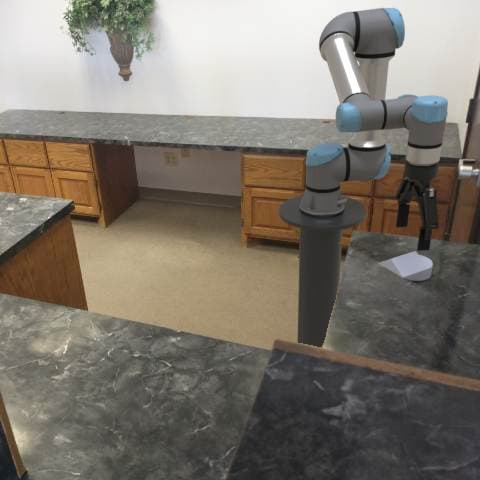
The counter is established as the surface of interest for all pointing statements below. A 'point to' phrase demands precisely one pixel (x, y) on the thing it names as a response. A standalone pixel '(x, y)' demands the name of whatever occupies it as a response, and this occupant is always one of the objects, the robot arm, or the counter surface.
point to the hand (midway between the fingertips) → (411, 237)
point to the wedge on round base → (410, 266)
